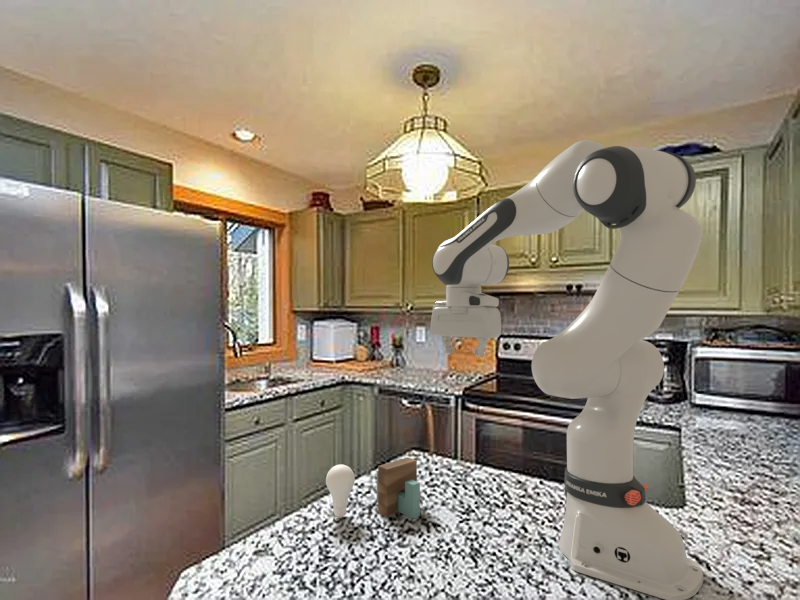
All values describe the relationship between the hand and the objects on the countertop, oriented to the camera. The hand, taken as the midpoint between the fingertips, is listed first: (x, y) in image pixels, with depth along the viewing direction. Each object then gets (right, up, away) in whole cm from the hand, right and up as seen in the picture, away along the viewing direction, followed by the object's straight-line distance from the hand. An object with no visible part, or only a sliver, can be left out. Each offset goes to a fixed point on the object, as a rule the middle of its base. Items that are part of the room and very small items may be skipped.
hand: (463, 355), depth 113 cm
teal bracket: (-17, -33, -13) cm, 39 cm away
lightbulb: (-29, -33, -17) cm, 47 cm away
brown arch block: (-16, -33, -13) cm, 39 cm away
